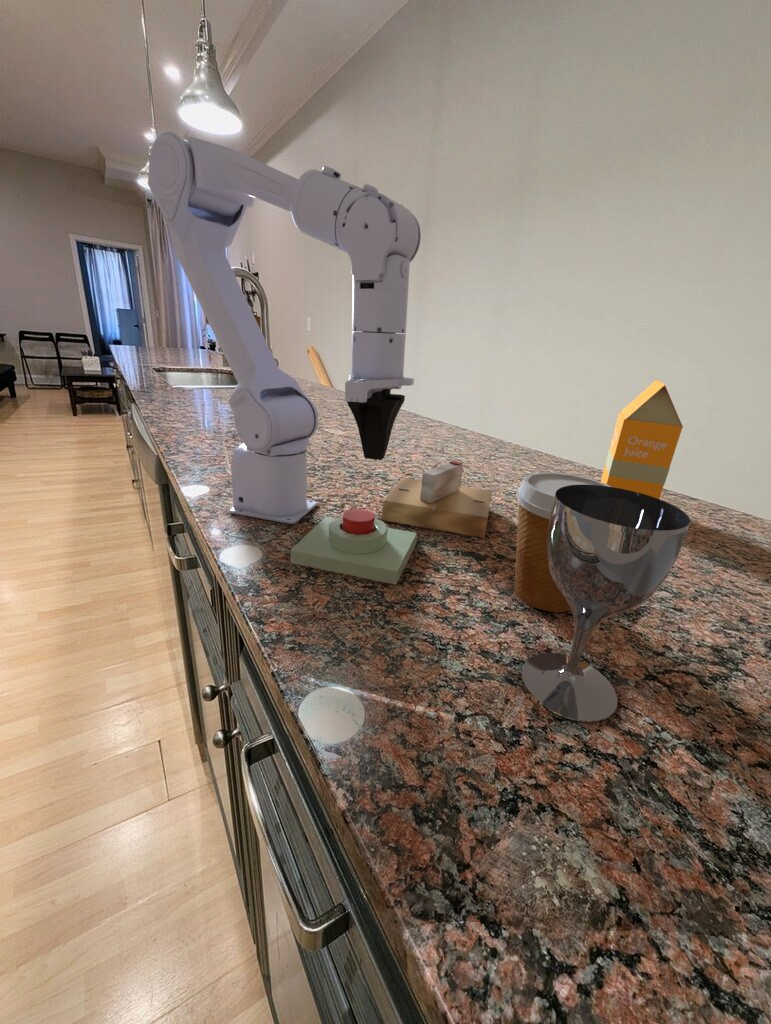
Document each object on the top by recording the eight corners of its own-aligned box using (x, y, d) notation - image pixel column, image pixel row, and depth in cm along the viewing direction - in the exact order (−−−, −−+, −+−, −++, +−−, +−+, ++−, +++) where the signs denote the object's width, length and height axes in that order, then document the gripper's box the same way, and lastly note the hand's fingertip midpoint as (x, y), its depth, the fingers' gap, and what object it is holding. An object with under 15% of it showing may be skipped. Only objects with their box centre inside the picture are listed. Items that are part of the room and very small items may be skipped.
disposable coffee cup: (604, 630, 41) (641, 511, 37) (499, 612, 43) (522, 496, 38) (583, 579, 50) (611, 477, 45) (496, 566, 52) (515, 466, 47)
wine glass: (501, 650, 38) (536, 482, 32) (590, 650, 39) (639, 486, 33) (538, 728, 30) (592, 528, 25) (647, 725, 31) (723, 532, 26)
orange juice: (598, 511, 70) (633, 380, 63) (596, 495, 78) (627, 376, 70) (653, 522, 68) (697, 387, 60) (645, 503, 75) (684, 382, 68)
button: (337, 532, 50) (338, 518, 49) (348, 520, 53) (349, 507, 52) (368, 538, 49) (369, 523, 48) (377, 525, 52) (378, 512, 51)
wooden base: (380, 522, 61) (381, 500, 60) (401, 494, 72) (402, 475, 71) (483, 540, 58) (487, 517, 57) (489, 507, 69) (492, 488, 68)
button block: (290, 563, 49) (289, 534, 47) (325, 528, 58) (326, 503, 56) (396, 585, 46) (398, 555, 45) (415, 545, 55) (418, 519, 54)
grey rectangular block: (430, 503, 60) (434, 473, 59) (419, 500, 61) (422, 470, 60) (459, 490, 66) (463, 462, 64) (449, 487, 67) (453, 460, 65)
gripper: (397, 333, 40) (390, 479, 45) (429, 335, 53) (420, 448, 58) (324, 330, 41) (325, 470, 46) (372, 332, 54) (369, 442, 59)
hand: (374, 457), depth 52 cm, fingers closed
